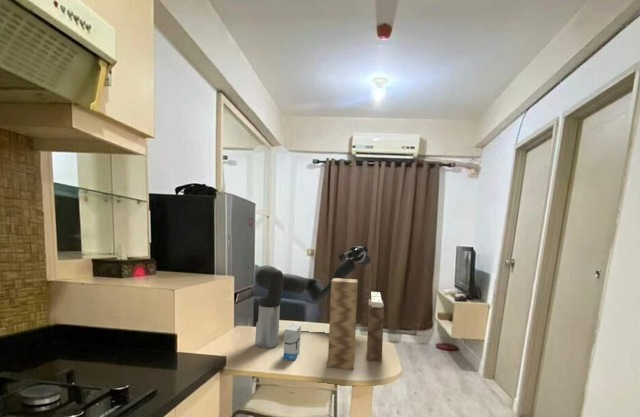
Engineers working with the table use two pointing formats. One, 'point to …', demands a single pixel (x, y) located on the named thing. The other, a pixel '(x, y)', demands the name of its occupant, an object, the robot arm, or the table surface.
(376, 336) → the walnut post
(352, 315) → the oak post
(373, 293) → the long ivory domino tile
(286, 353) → the ink box
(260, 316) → the robot arm
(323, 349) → the table surface
